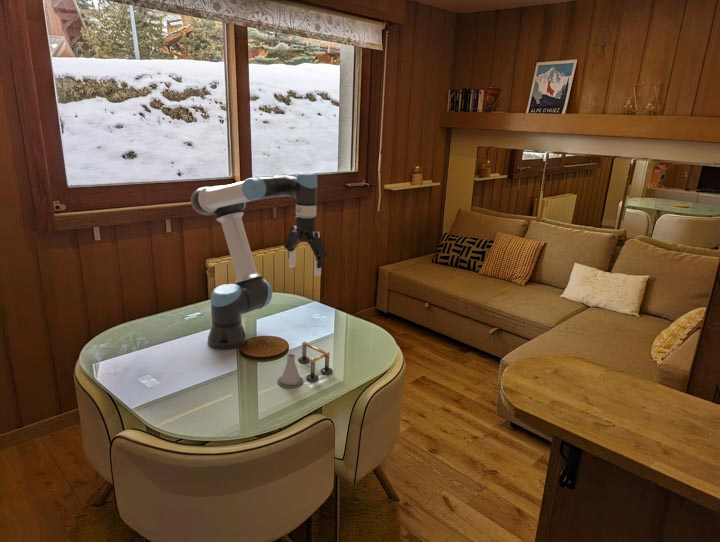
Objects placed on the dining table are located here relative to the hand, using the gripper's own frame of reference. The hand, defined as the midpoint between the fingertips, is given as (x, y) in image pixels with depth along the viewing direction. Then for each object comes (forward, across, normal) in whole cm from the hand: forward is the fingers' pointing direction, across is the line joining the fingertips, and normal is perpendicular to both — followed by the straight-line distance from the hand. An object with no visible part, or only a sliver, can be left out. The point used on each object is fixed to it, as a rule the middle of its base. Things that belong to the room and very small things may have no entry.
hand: (304, 271), depth 186 cm
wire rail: (+35, +10, -7) cm, 37 cm away
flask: (+34, +12, -17) cm, 40 cm away
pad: (+35, +12, -18) cm, 41 cm away
